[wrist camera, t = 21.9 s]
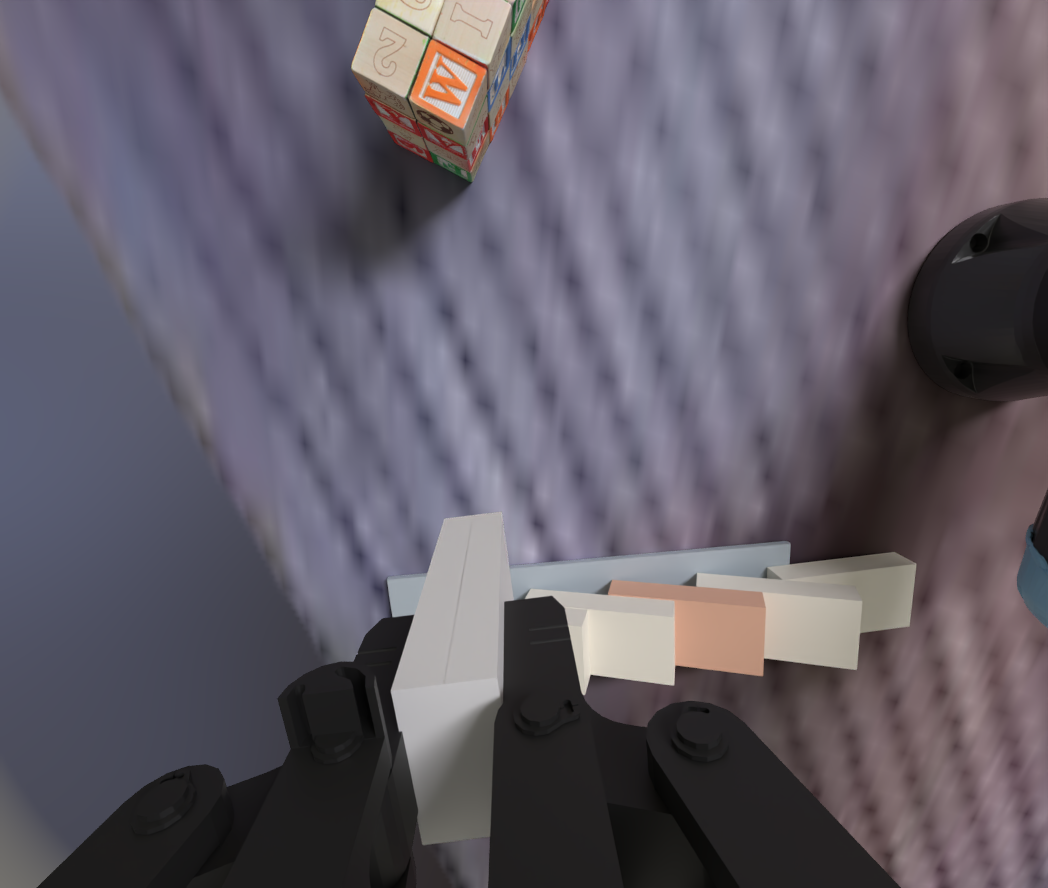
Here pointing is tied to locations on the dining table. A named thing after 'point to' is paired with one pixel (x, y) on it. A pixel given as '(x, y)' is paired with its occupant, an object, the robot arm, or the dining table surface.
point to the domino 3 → (803, 618)
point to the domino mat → (616, 571)
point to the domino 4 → (864, 584)
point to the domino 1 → (625, 634)
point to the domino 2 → (710, 624)
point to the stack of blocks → (445, 72)
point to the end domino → (580, 643)
